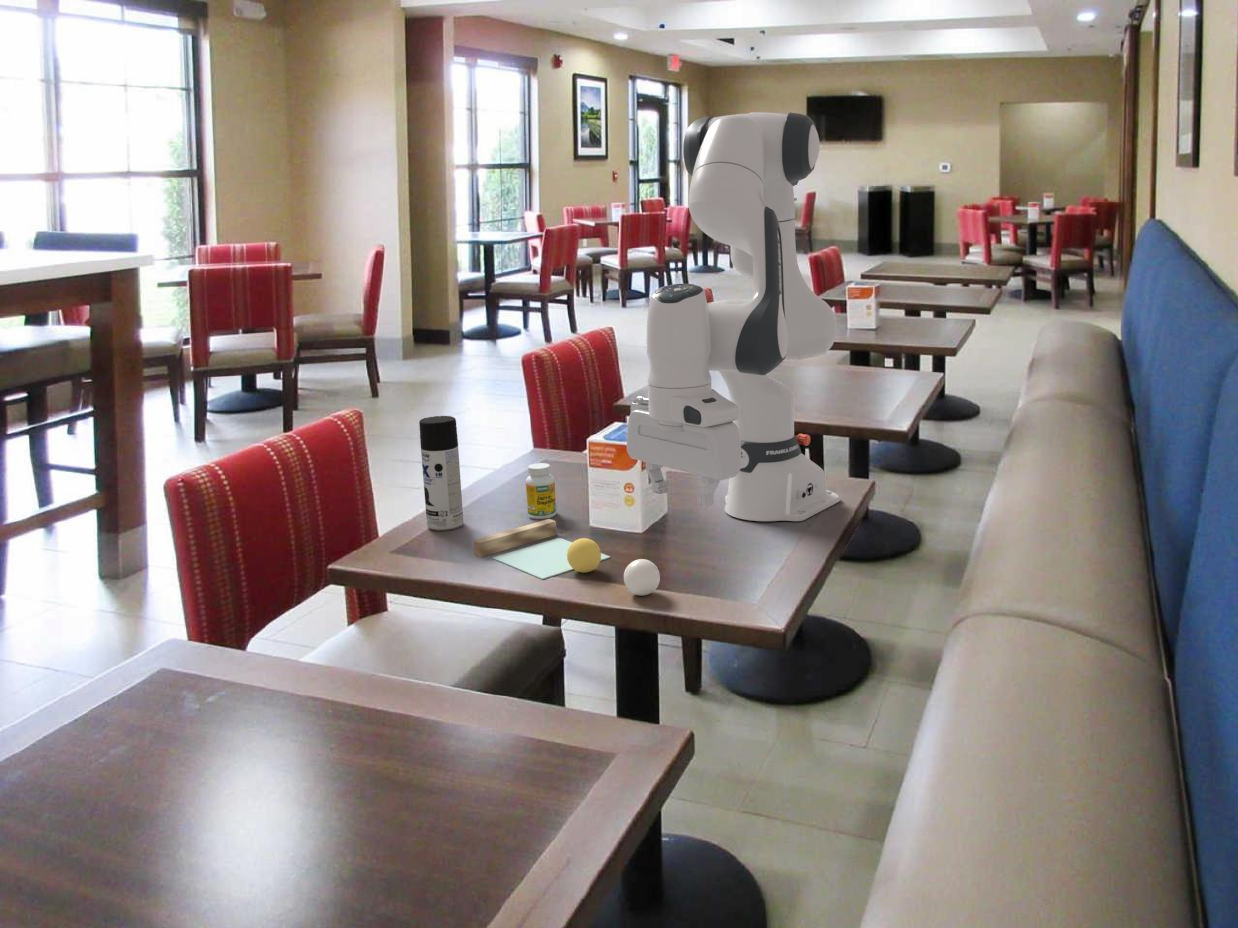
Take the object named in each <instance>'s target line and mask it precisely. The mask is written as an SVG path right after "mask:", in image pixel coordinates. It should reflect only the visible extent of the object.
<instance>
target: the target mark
mask: <svg viewBox="0 0 1238 928" xmlns="http://www.w3.org/2000/svg"><path fill="white" fill-rule="evenodd" d="M572 543H573V541H570V540H566V539H564V538H561V537H556V538H553V539H549V540H546V541H542V542H539V543H537V544H533V545H530V546H527V547H523V548H519V549H516V550H512V551H510V552H506V553H502V554H499V555H496V556H493V557H492V560H495V561H497V562H499V563H502V564H504V565H507V566H509V567H512V568H513V569H517V570H519V571H521V572H524V573H526V574H528V575H530V576H532V577H535V578H537V579H540V580H542V581H543V580H545V579H549V578H552V577H555V576H559V575H562V574H564V573H567V572H570V571H573V570H574V569H573V568H572V567H571V566H570V564H569V563H568V560H567V551H568V548H569V546H570V545H571V544H572ZM610 558H611V555H607V554H605V553H602V552H601V560H600V562H601V561H604V560H608V559H610ZM574 571H575V570H574Z"/></svg>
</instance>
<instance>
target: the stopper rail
mask: <svg viewBox="0 0 1238 928" xmlns="http://www.w3.org/2000/svg"><path fill="white" fill-rule="evenodd" d="M557 532H558V531H557V521H556V520H553V519H551V518H547V519H542V520H540V521H537V522H532V523H530V524H527V525H522V526H519V527H516V528H513V529H508V530H505V531H501V532H498V533H494V534H491V535H487V536H484V537H479V538H477V539H473V540H472V542H473V552H474V553H473V554H474V555H475V556H476V557H477V556H478V557H480V558H482V557H486V556H490V555H492V554H493V555H494V554H496V553H500V552H503V551H506V550H510V549H512V548H516V547H520V546H523V545H526V544H531V543H532V542H533V543H534V542H537V541H540V540H544V539H546V538H550V537H553V536H557V535H558V534H557Z"/></svg>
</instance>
